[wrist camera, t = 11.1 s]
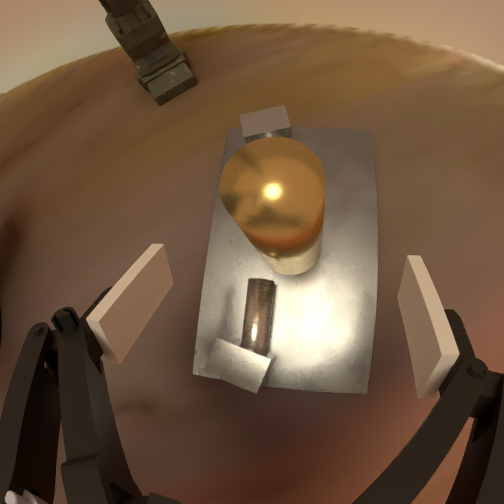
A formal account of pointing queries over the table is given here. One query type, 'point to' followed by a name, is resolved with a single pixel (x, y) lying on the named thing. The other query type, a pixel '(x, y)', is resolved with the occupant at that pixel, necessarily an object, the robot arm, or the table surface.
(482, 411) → the robot arm
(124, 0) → the mechanical leg
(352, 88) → the table surface
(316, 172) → the orange glossy cylinder
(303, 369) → the bed plate
